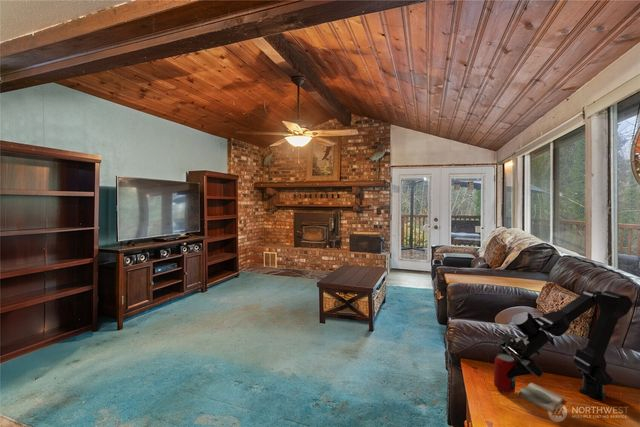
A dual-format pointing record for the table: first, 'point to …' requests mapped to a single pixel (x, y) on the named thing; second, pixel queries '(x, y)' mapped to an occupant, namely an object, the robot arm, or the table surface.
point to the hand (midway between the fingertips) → (501, 371)
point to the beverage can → (504, 373)
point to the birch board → (541, 396)
